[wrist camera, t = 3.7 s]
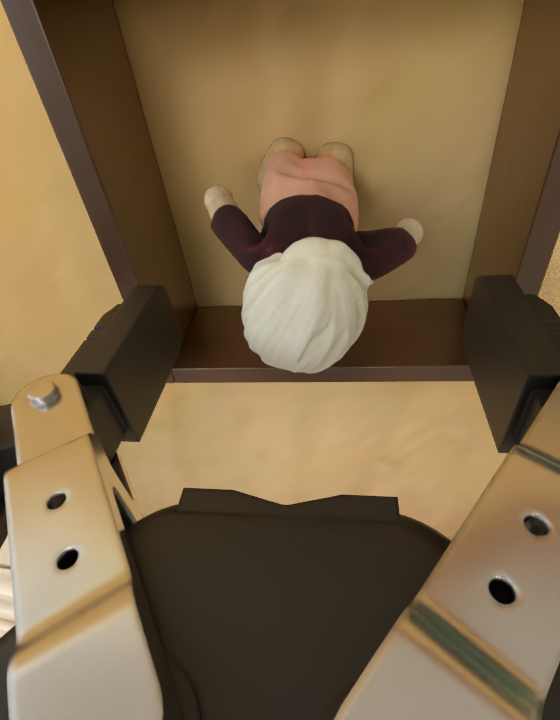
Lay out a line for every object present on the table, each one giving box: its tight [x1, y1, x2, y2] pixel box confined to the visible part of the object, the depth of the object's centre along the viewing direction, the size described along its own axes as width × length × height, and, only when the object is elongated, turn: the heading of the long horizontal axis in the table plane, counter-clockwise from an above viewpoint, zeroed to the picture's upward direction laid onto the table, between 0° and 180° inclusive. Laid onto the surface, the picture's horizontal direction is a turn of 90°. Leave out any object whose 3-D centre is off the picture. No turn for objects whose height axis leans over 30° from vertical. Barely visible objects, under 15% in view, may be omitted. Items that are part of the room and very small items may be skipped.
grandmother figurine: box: [204, 138, 424, 374], centre depth 15 cm, size 8×4×13 cm, turn 95°
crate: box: [1, 0, 560, 383], centre depth 17 cm, size 17×16×6 cm
